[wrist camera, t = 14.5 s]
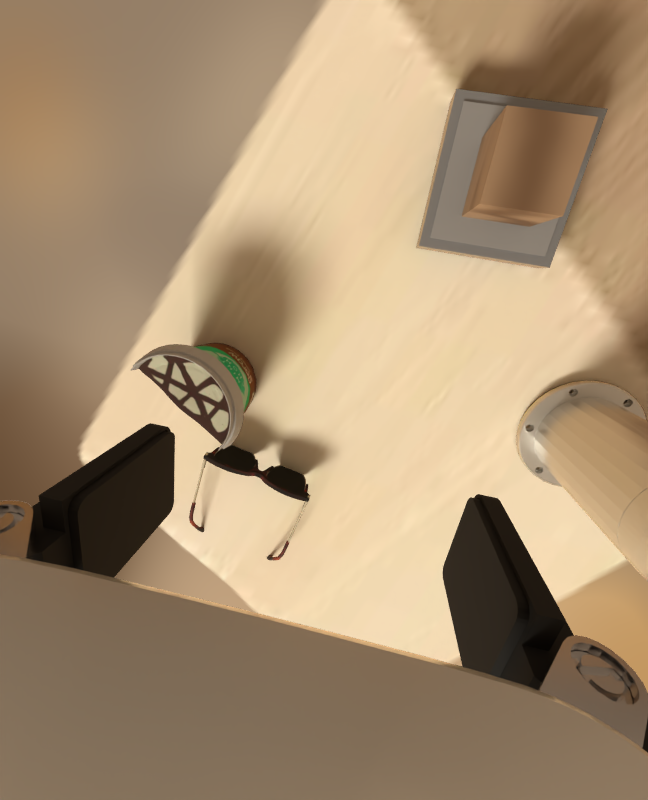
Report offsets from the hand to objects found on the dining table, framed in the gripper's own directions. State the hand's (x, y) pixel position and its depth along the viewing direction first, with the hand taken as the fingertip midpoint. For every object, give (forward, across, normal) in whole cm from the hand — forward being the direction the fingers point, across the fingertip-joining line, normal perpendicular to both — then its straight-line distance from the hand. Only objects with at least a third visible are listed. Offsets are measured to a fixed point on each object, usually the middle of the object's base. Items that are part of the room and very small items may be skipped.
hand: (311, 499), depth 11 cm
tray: (+30, -10, -16) cm, 36 cm away
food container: (+31, +14, +6) cm, 34 cm away
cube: (+28, -10, -16) cm, 33 cm away
